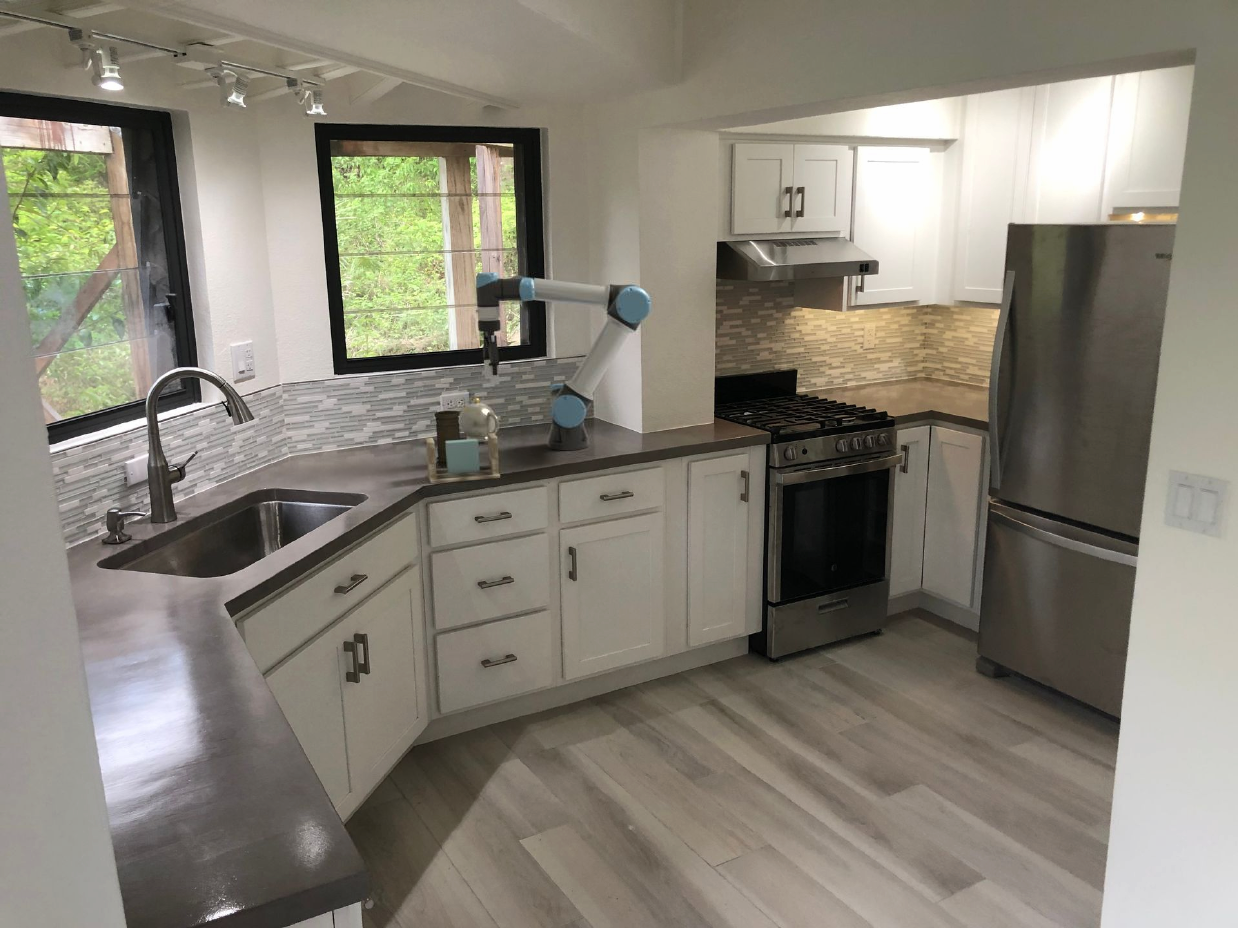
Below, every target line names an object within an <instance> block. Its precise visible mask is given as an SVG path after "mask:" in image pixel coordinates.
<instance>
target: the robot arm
mask: <svg viewBox="0 0 1238 928" xmlns="http://www.w3.org/2000/svg"><path fill="white" fill-rule="evenodd" d="M475 291H476V292H475V293H476V306H477V307H476V308H477V309H476V310H475V313H477V319H478V321H477V327H478V331H479V332H482V336H483V337H482V338H483V339H482V340H483V341H482V342H483V343H482V344H483V345H482V357H483V363H484V365H483V366H484V367H483V368H484V380H485V379H490V385H491V386H495V385H496V386H497V385H500V372H499V370H500V369H499V365H500V358H499V349H498V340H497V338H498V336H497V335H496V334H495V332H499V331H501V329H502V328H501V319H500V318H501V308H500V307H501V306H500V302H527V301H533V300H534V301H542V302H549V303H557V304H566V305H573V306H583V307H591V308H600V309H603V311H604V312H606V318H607V321H606V323H604V325H603V328H602V329H601V331H600V332H599V334H598V335H597V337H596V339H595V340H594V342H593V344H592V346H591V347H590V349H589V350H588V352H587V354H586V355H585V357H584V359H583V360H582V362H580V365H579V367H578V368H577V370H576V371H575V373H574V375H573V377H572V378H571V379H569V380H566V381H564V382H563V383H554V384H551V386H550V391H549V394H550V413H551V414H550V415H551V428H550V431H549V434H548V437H547V448H548V449H551V450H555V451H556V450H558V451H575V450H576V451H577V450H582V449H586V448H588V447H589V445H590V439H589V436H588V434H587V430H586V428H585V422H584V419H585V417H586V414H587V411H588V409H589V408H590V406H591V405H592V403H593V401H594V399H595V398H594V391H595V389H596V388H597V386H598V385H599V383H600V382H601V380H602V378H603V377H604V375H605V373H606V372H607V370H608V368H609V367H610V365H611V364H612V362H613V360H614V358H615V357H616V355H617V354H618V352H619V351H620V349H621V347H622V346H623V344H624V342H625V340H626V339H627V338H628V335H630V334H632V333H635V332H636V331H637V330H638V328H639V326H640V325H641V323H642V322H643V321H644V320H645V319H646V318H647V317H648V316H649V313H650V312H651V308H652V303H651V302H652V301H651V297H650V296H649V294H648V293H647V291H645V289H643V288H641V287H640V286H638V285H636V284H610V283H608V284H607V285H605V286H603V285H595V284H587V283H578V282H569V281H562V280H561V281H560V280H553V279H545V278H537V277H527V276H523V275H515V276H514V275H513V276H512V277H510V278H500V277H499V274H498V273H497V272H479V273H477V274H476V275H475Z"/></svg>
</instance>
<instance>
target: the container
mask: <svg viewBox="0 0 1238 928" xmlns="http://www.w3.org/2000/svg"><path fill="white" fill-rule="evenodd" d="M460 414H461V412H460V411H457V410H440V411H437V412H435V413H434V417H435V429H436V430H435V431H436V443H437V449H436V451H437V457H436V466H438V468H439V467H440V468H447V459H446V442H445V441H452V440H461V433H460V424H459V417H460Z"/></svg>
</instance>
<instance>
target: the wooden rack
mask: <svg viewBox="0 0 1238 928" xmlns="http://www.w3.org/2000/svg"><path fill="white" fill-rule="evenodd" d="M498 440H499V439H498V437H497V435H496V434H494V433H488V441H487V445H488V446H487V447H488V461H489V462H488V463H489V464H488V465H481V466H480V465H479V469H480V471H477V472H465V473H453V474H447V468H442V469H441V468H440V469H437V459H436V446H435V444H436V443H435V441H434V438H433V437H426V438H425V446H426V460H427V461H426V462H427V463H426V464H427V477H428V479H429V482H430V484H442V483H454V482H456V483H457V482H466V481H478V480H488V479H489V480H490V479H491V480H492V479H499V478H501V474H500V467H499V466H500V465H499V461H500V460H499V441H498Z"/></svg>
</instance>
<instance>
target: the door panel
mask: <svg viewBox="0 0 1238 928" xmlns="http://www.w3.org/2000/svg"><path fill="white" fill-rule="evenodd" d="M445 442H446V459H447V467H446V469H447V474H453V473H465V472H477V471H480V469H479V466H480V455H479V454H480V452H479V443H478V440H477V439H467V438H466V439H460V440H452V441H445Z"/></svg>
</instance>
